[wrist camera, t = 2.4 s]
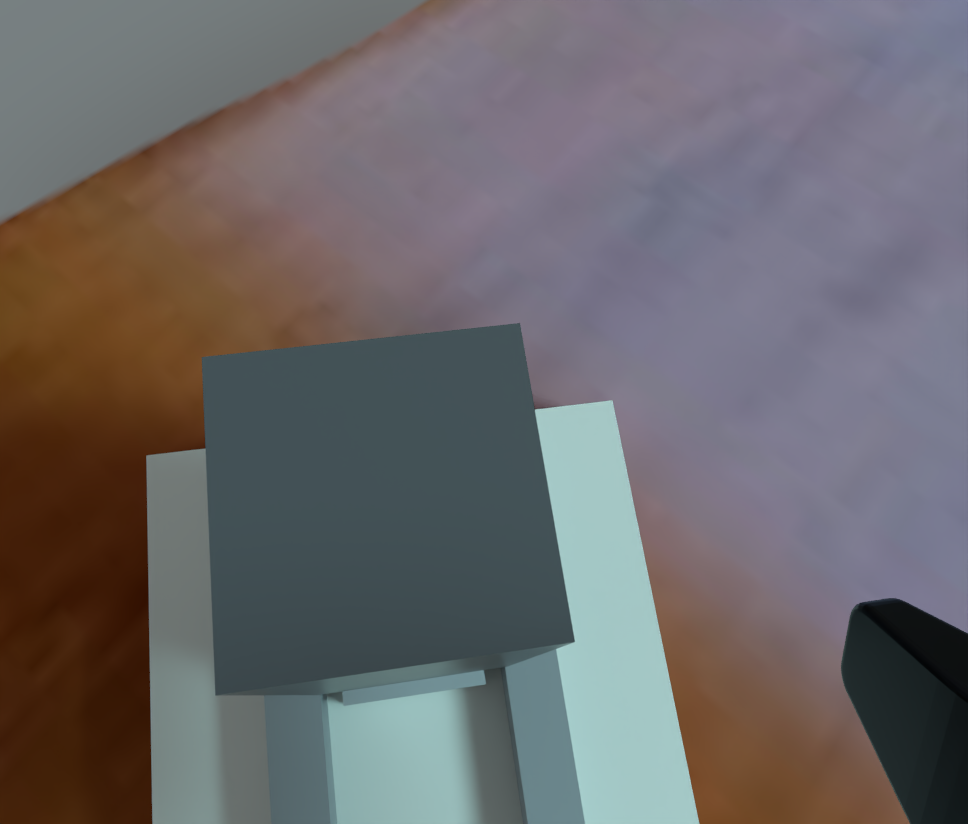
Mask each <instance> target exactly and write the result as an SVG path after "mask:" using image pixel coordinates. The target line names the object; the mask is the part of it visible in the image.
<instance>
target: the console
mask: <svg viewBox="0 0 968 824" xmlns="http://www.w3.org/2000/svg"><path fill="white" fill-rule="evenodd" d="M535 414H536V420H537V426H538V431H539V437H540V443H541V449H542V454H543V460H544V466H545V472H546V477H547V483H548V489H549V495H550V501H551V506H552V512H553V518H554V524H555V529H556V535H557V541H558V547H559V553H560V558H561V564H562V570H563V576H564V581H565V587H566V593H567V599H568V604H569V610H570V616H571V622H572V628H573V633H574V639H575V642H574V643H571V644H568V645H566V646H563V647H560V648H557V649H555V650H552V651H549V652H546V653H544V654H541V655H538V656H535V657H533V658H530V659H527V660H525V661H522V662H519V663H516V664H514V665H511V666H508V667H502V668H495V669H488V670H484V674H485V681H486V684H485V685H479V686H472V687H465V688H459V689H452V690H446V691H439V692H433V693H426V694H420V695H413V696H406V697H400V698H393V699H387V700H380V701H374V702H367V703H360V704H354V705H347V706H344V705H343V693H342V692H336V693H329V694H322V695H220V696H215V673H214V648H213V623H212V598H211V573H210V548H209V523H208V498H207V473H206V449H197V450H189V451H180V452H172V453H163V454H155V455H146V464H147V525H148V586H149V647H150V708H151V769H152V824H699V820H698V816H697V811H696V806H695V801H694V796H693V791H692V786H691V781H690V777H689V772H688V767H687V762H686V757H685V752H684V747H683V742H682V738H681V733H680V728H679V723H678V718H677V713H676V708H675V703H674V699H673V694H672V689H671V684H670V679H669V674H668V669H667V665H666V660H665V655H664V650H663V645H662V640H661V635H660V630H659V626H658V621H657V616H656V611H655V606H654V601H653V596H652V591H651V587H650V582H649V577H648V572H647V567H646V562H645V557H644V552H643V548H642V543H641V538H640V533H639V528H638V523H637V518H636V513H635V509H634V504H633V499H632V494H631V489H630V484H629V479H628V475H627V470H626V465H625V460H624V455H623V450H622V445H621V440H620V436H619V431H618V426H617V421H616V416H615V411H614V406H613V401H604V402H595V403H587V404H578V405H570V406H561V407H553V408H544V409H536V410H535Z"/></svg>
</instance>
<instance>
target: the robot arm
mask: <svg viewBox="0 0 968 824" xmlns="http://www.w3.org/2000/svg"><path fill="white" fill-rule="evenodd" d="M841 673H842V679H843V683H844V686H845V689H846V691H847V693H848V695H849V697H850V699H851V702H852V704H853V706H854V708H855V710H856V712H857V714H858V716H859V718H860V720H861V723H862V725H863V727H864V729H865V731H866V733H867V735H868V737H869V739H870V741H871V743H872V746H873V748H874V750H875V752H876V754H877V756H878V758H879V760H880V762H881V764H882V766H883V769H884V771H885V773H886V775H887V777H888V779H889V781H890V783H891V785H892V787H893V790H894V792H895V794H896V796H897V798H898V800H899V802H900V804H901V806H902V808H903V810H904V812H905V814H906V816H907V818H908V820H909V822H910V824H968V633H966V632H964V631H962V630H960V629H958V628H956V627H954V626H952V625H950V624H948V623H946V622H944V621H942V620H940V619H938V618H936V617H934V616H932V615H930V614H928V613H926V612H924V611H923V610H921V609H919V608H917V607H915V606H913V605H911V604H909V603H907V602H905V601H902V600H900V599H896V598H888V599H881V600H875V601H868V602H862V603H859V604H857V605H856V606H855V607H854V608H853V610H852V612H851V615H850V619H849V625H848V630H847V636H846V641H845V646H844V652H843V657H842V663H841Z"/></svg>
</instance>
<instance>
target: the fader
mask: <svg viewBox="0 0 968 824" xmlns="http://www.w3.org/2000/svg"><path fill="white" fill-rule="evenodd" d="M202 373H203V398H204V423H205V448H206V473H207V498H208V523H209V548H210V573H211V598H212V623H213V648H214V673H215V696H220V695H322V694H329V693H336V692H342V693H343V705H344V706H347V705H354V704H360V703H367V702H374V701H380V700H387V699H393V698H400V697H406V696H413V695H420V694H426V693H433V692H439V691H446V690H452V689H459V688H465V687H472V686H479V685H485V684H486V681H485V674H484V670H488V669H495V668H502V667H508V666H511V665H514V664H516V663H519V662H522V661H525V660H527V659H530V658H533V657H535V656H538V655H541V654H544V653H546V652H549V651H552V650H555V649H557V648H560V647H563V646H566V645H568V644H571V643H574V642H575V639H574V633H573V628H572V622H571V616H570V610H569V604H568V599H567V593H566V587H565V581H564V576H563V570H562V564H561V558H560V553H559V547H558V541H557V535H556V529H555V524H554V518H553V512H552V506H551V501H550V495H549V489H548V483H547V477H546V472H545V466H544V460H543V454H542V449H541V443H540V437H539V431H538V426H537V420H536V414H535V408H534V402H533V397H532V391H531V385H530V379H529V374H528V368H527V362H526V356H525V351H524V345H523V339H522V333H521V327H520V323H518V324H508V325H499V326H490V327H480V328H471V329H462V330H452V331H443V332H433V333H424V334H415V335H405V336H396V337H387V338H377V339H368V340H359V341H349V342H340V343H330V344H321V345H312V346H302V347H293V348H284V349H274V350H265V351H256V352H246V353H237V354H227V355H218V356H209V357H202Z"/></svg>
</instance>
